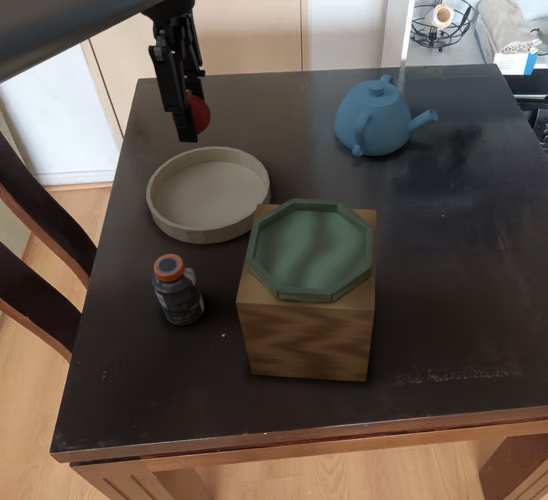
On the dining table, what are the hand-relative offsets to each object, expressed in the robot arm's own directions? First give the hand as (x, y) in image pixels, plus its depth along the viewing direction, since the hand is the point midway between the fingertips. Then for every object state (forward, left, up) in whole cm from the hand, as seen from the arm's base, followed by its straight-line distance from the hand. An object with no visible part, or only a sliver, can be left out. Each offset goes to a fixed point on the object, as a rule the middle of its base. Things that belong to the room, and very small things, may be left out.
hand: (193, 127), depth 85 cm
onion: (0, 0, -2) cm, 2 cm away
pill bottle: (+1, -24, -16) cm, 29 cm away
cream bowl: (0, 0, -16) cm, 16 cm away
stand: (+21, -26, -16) cm, 37 cm away
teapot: (+31, +19, -16) cm, 40 cm away
